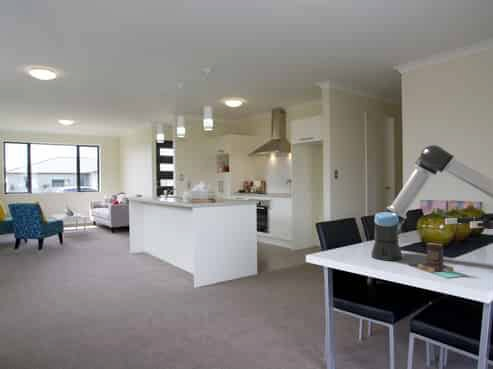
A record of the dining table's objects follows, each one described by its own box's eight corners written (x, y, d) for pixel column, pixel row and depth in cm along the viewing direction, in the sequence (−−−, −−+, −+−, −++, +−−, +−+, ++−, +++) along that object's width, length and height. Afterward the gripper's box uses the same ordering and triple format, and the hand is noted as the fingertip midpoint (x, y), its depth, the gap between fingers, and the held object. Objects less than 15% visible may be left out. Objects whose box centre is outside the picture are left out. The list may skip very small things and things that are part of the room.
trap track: (408, 265, 165) (408, 261, 165) (427, 263, 168) (427, 259, 168) (432, 273, 150) (432, 269, 150) (453, 271, 153) (453, 267, 153)
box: (443, 270, 156) (443, 243, 156) (441, 272, 153) (441, 245, 152) (429, 267, 160) (429, 242, 160) (426, 269, 157) (426, 243, 156)
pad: (432, 273, 150) (432, 272, 150) (453, 271, 153) (453, 270, 153) (446, 278, 143) (446, 277, 143) (467, 276, 146) (467, 275, 146)
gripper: (520, 232, 152) (482, 235, 147) (470, 225, 176) (436, 227, 171) (520, 215, 152) (482, 217, 147) (470, 211, 176) (436, 212, 171)
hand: (457, 223), depth 159 cm, fingers open, 13 cm apart
